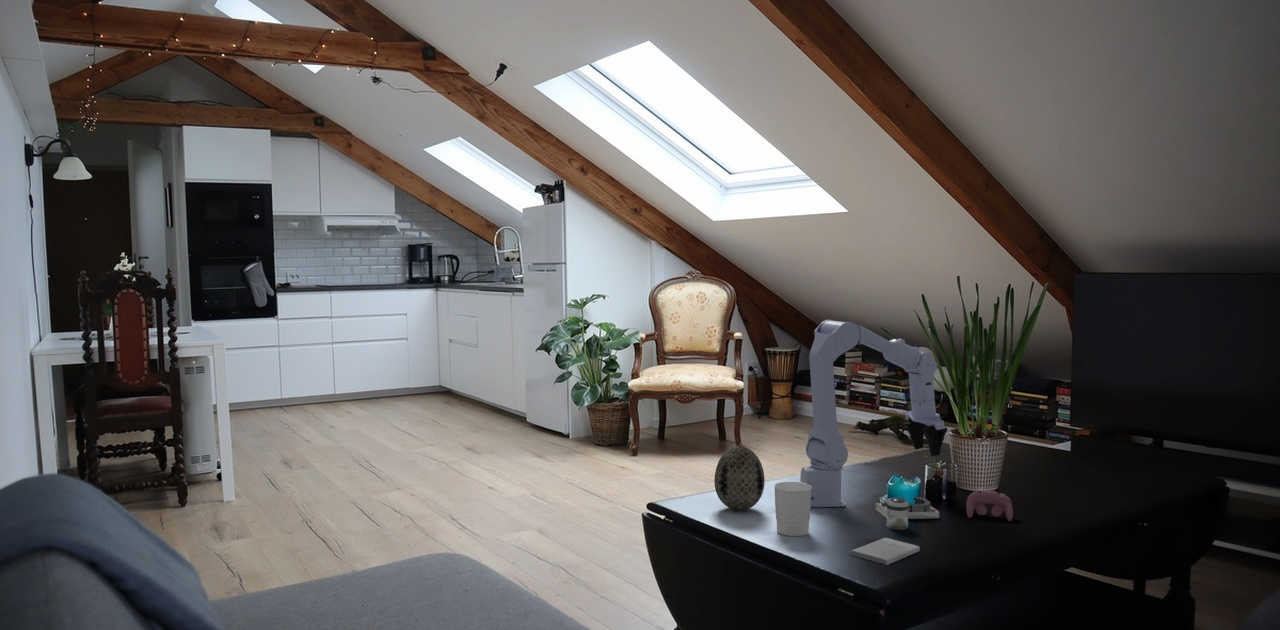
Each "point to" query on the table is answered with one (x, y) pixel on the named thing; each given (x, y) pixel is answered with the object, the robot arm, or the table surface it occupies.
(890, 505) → the lens
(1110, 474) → the table surface
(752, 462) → the decorative egg
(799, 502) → the white cup
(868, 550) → the external hard drive
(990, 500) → the video game controller
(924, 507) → the white display stand
